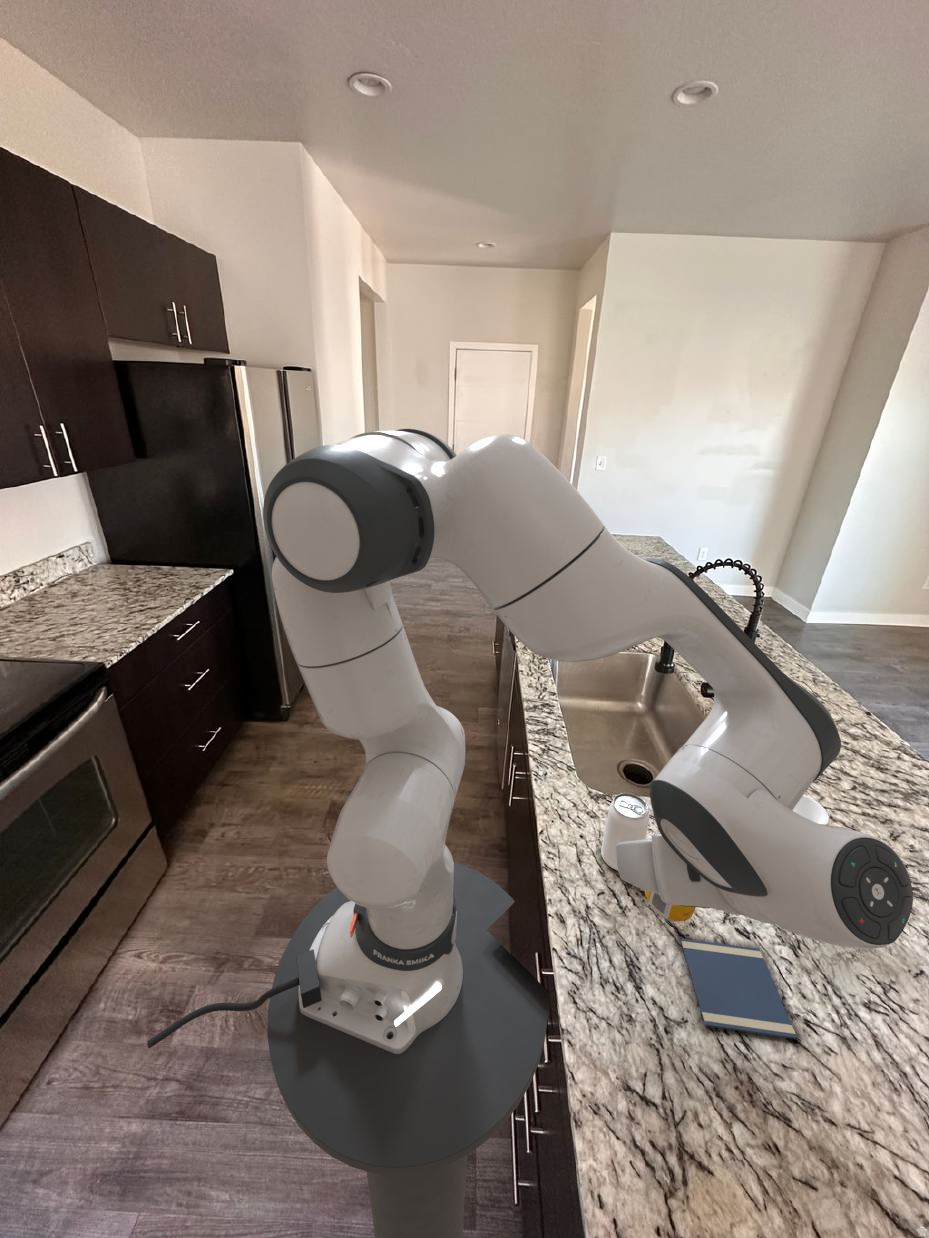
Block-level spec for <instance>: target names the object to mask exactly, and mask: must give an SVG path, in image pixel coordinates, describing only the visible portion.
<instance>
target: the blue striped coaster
mask: <svg viewBox="0 0 929 1238" xmlns="http://www.w3.org/2000/svg"><path fill="white" fill-rule="evenodd" d="M680 943H681V948H682V950H683V951H682V952H683V954H684V958H685V961H686V965H687V968H688V972H689V976H690V980H691V982H692V985H693V989H694V993H695V996H696V1000H697V1003H698V1007H699V1011H700V1013H701V1018H702V1021H703V1025H704V1027H708V1028H714V1029H721V1030H729V1031H735V1032H741V1033H746V1034H747V1033H749V1034H756V1035H761V1036H769V1037H775V1038H782V1039H788V1040H796V1041H797V1040H798V1036H797V1034H796V1032H795V1029H794V1026H793V1025H792V1022H791V1020H790V1017H789V1014H788V1013H787V1010H786V1008H785V1006H784V1004H783V1001H782V999H781V997H780V994H779V992H778V990H777V987H776V985H775V982H774V981H773V978H772V976H771V973H770V971H769V968H768V966H767V963H766V962H765V959H764V956H763V953H762V952H761V950H760V948H758V947H757V948H756V947H750V946H742V945H741V946H740V945H735V944H726V943H719V942H710V941H704V940H696V939H688V938H680Z"/></svg>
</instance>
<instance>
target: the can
mask: <svg viewBox="0 0 929 1238" xmlns="http://www.w3.org/2000/svg"><path fill="white" fill-rule="evenodd" d="M650 819H651V817H650V810H649V806H648V804H647V802H646V801H645V800H644V799H643V798H642V797H640V796H638V795H636V794H633V793H630V792H620V793H618V794H616V795H615V796H614V798H613V799H612V801H611V803H610V804H609V807H608V811H607V816H606V820H605V821H606V822H605V826H604V832H603V837H602V843H601V849H600V854H601V857H602V859H603V862H605V863H606V865H607V866H609V867H610V868H611V869H613V870H615V871H617V872H619V871H618V866H617V858H616V846H617V844H618V843H621V842H626V841H634V840H643V839H646V836H647V832H648V828H649V824H650Z"/></svg>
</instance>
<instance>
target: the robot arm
mask: <svg viewBox="0 0 929 1238" xmlns="http://www.w3.org/2000/svg"><path fill="white" fill-rule="evenodd" d="M262 518H263V519H262V520H263V527H264V531H265V535H266V537H267V542H268V543H269V546H270V547H271V550H272V552H273V553H274V555H275V558H274V560H273V562H272V567H271V581H272V586H273V592H274V597H275V602H276V606H277V609H278V614H279V617H280V621H281V624H282V628H283V631H284V633H285V636H286V640H287V643H288V646H289V648H290V651H291V653H292V656H293V658H294V660H295V664H296V665H297V668H298V670H299V672H300V674H301V677H302V679H303V682H304V684H305V686H306V689H307V691H308V694H309V695H310V698H311V700H312V703H313V706H314V707H315V710H316V712H317V714H318V717H319V720H320V721H321V724H322V725H323V726H324V727H325V728H326V729H327V730H328V731H329V732H330V733H332V734H334V735H337V736H339V737H342V738H346V739H351V740H358V741H359V743H360V744H361V746H362V748H363V750H364V752H365V755H364V756H365V763H364V765H365V766H364V768H363V770H362V773H361V774H360V776H359V778H358V780H357V782H356V783H355V785H354V787H353V789H352V790H351V792H350V794H349V796H348V797H347V800H346V801H345V803H344V804H343V807H342V808H341V810H340V812H339V815H338V817H337V820H336V823H335V827H334V830H333V832H332V837H331V840H330V844H329V848H328V851H327V855H326V866H327V871H328V873H329V876H330V878H331V880H332V881H333V883H334V885H335V887H337V888H338V889H339V890H340V891H341V892H342V893H343V894H344V895H345V896H346V897H347V898H348V899H350V900H351V901H350V902H347V903H345V904H343V905H342V906H341V907H340V908H339V909H338V910H337V911H336V912H335V914H334V915H333V916H332V917H331V918H330V919H329V920H328V921H327V922H326V923H325V924H324V925H323V927H322V928H321V930H320V931H319V933H318V934H317V936H316V938H315V940H314V942H313V944H312V946H311V948H310V950H309V951H307V952H305V953H302V954H300V955H297V956H296V962H297V969H298V978H296V979H293V980H291V981H288V982H286V983H284V984H281V985H279V986H277V987H274V988H272V987H271V988H270V989H269V990H267V991H265V992H264V993H263V994H262V995H261V996H260V997H259V998H258V999H256V1000H254V1001H250V1002H216V1003H211V1004H208V1005H204V1006H202V1007H199V1008H197V1009H195V1010H192V1011H191V1012H189V1013H188V1014H186V1015H184V1016H183V1017H181V1018H179V1019H178V1020H176V1021H174V1022H173V1023H172V1024H171V1025H169V1026H168V1027H167V1028H165V1029H164V1030H162V1031H161V1032H159V1033H157V1034H156V1035H154V1036H153V1037H151V1038H149V1039H148V1040H146V1043H147V1048H148V1049H151V1048H152V1047H154V1046H155V1045H157V1044H158V1043H160V1042H162V1041H163V1040H164V1039H166V1038H168V1037H169V1036H170V1035H172V1034H174V1033H175V1032H177V1030H179V1029H180V1028H182V1027H183V1026H185V1025H186V1024H188V1023H189V1022H191V1021H193V1020H195V1019H197V1018H199V1017H202V1016H205V1015H206V1014H210V1013H213V1012H221V1011H222V1012H223V1011H224V1012H227V1011H228V1012H248V1011H254V1010H256V1009H258V1008H260V1007H261V1006H262V1005H264V1003H265V1002H266V1001H267V1000H270V998H271V997H272V996H274V995H277V994H279V993H281V992H283V991H286V990H288V989H291V988H293V987H295V986H298V985H299V1008H300V1012H301V1013H302V1014H303V1015H305V1016H307V1017H310V1018H312V1019H314V1020H316V1021H319V1022H321V1023H323V1024H326V1025H328V1026H331V1027H333V1028H335V1029H338V1030H340V1031H342V1032H345V1033H347V1034H349V1035H352V1036H354V1037H356V1038H359V1039H361V1040H363V1041H366V1042H368V1043H370V1044H373V1045H375V1046H377V1047H380V1048H382V1049H384V1050H387V1051H389V1052H391V1053H394V1054H401V1053H403V1052H404V1051H405V1050H406V1049H407V1048H408V1047H409V1046H410V1045H411V1044H412V1042H413V1041H414V1040H415V1039H416V1037H417V1036H418V1035H419V1034H420V1033H422V1032H423V1031H425V1030H426V1029H428V1028H430V1027H432V1026H434V1025H435V1024H437V1023H438V1022H439V1021H440V1020H442V1019H443V1018H444V1017H445V1016H446V1015H447V1014H448V1012H449V1011H450V1010H451V1009H452V1007H453V1006H454V1004H455V1002H456V1000H457V998H458V996H459V993H460V990H461V986H462V980H463V966H462V960H461V957H460V954H459V951H458V949H457V947H456V944H455V939H456V928H457V911H456V903H455V897H454V894H453V878H454V859H453V855H452V853H451V851H450V849H449V847H448V846H447V845H446V840H447V835H448V830H449V826H450V821H451V816H452V813H453V810H454V805H455V801H456V797H457V794H458V790H459V787H460V784H461V781H462V777H463V773H464V770H465V767H466V766H465V765H466V733H465V730H464V729H465V728H464V727H463V725H462V723H461V722H460V720H459V718H457V716H455V715H454V714H453V713H452V712H451V711H449V710H448V709H446V708H444V707H441V706H440V705H439V706H438V705H437V704H436V703H435V701H434V699H433V698H432V696H431V695H430V693H429V691H428V690H427V688H426V685H425V684H424V681H423V678H422V676H421V673H420V671H419V667H418V665H417V662H416V659H415V656H414V653H413V650H412V647H411V644H410V642H409V639H408V635H407V632H406V629H405V627H404V624H403V620H402V618H401V614H400V612H399V609H398V607H397V604H396V601H395V598H394V594H393V591H392V590H393V589H392V584H391V583H392V580H395V579H398V578H401V577H404V576H407V575H411V574H415V573H417V572H420V571H422V570H423V569H424V568H426V566H427V565H428V562H429V560H430V559H440V560H444V561H447V562H449V563H451V564H452V565H454V566H455V567H456V568H458V569H459V570H460V571H461V572H462V573H464V575H465V576H466V577H467V578H468V579H469V581H470V582H472V584H473V585H474V586H475V588H476V589H477V590H478V592H479V593H480V594H481V596H482V597H483V598H484V600H485V601H486V603H487V604H488V605H489V606H490V607H491V609H492V610H493V612H494V613H495V614H496V616H497V617H498V618H499V619H500V621H501V622H502V623H503V625H504V626H505V627H506V628H507V629H508V630H509V631H510V633H511V634H512V635H513V636H514V637H515V638H516V639H517V641H519V642H520V643H521V644H522V645H524V647H525V648H526V649H528V650H529V651H530V652H531V653H533V654H535V655H537V656H540V657H542V658H545V659H548V660H551V661H556V662H561V663H581V662H582V663H583V662H589V661H594V660H600V659H603V658H608V657H611V656H614V655H617V654H619V653H622V652H625V651H627V650H629V649H632V648H633V647H636V646H638V645H641V644H642V643H645V642H649V641H650V640H653V639H656V638H658V639H660V640H662V641H664V642H666V643H667V645H669V646H670V647H671V648H672V649H673V650H674V651H675V652H676V653H677V654H678V655H679V656H680V657H681V658H682V659H683V660H684V661H685V662H686V663H687V664H688V665H689V666H690V667H691V668H692V669H693V670H694V671H695V672H696V673H697V674H698V675H699V676H700V677H701V678H702V679H703V680H704V681H705V682H706V683H707V684H708V685H709V686H710V687H711V688H712V691H713V696H714V697H713V703H712V707H711V709H710V712H709V713H708V715H707V716H706V717H705V719H704V720H703V721H702V722H701V724H699V726H698V727H697V728H696V729H695V731H694V732H693V733H692V734H691V735H690V737H689V738H688V739H687V740H686V741H685V742H684V743H683V745H682V746H681V747H679V748H678V749H677V751H676V752H675V753H674V754H673V756H672V757H671V758H670V759H669V760H668V761H667V763H666V764H665V765H664V766H663V768H661V770H660V771H659V772H658V774H657V775H656V777H654V779H653V780H652V781H651V782H650V784H649V801H650V806H651V810H652V814H653V817H654V820H655V823H656V826H657V829H658V831H659V832H654V833H653V834H652V835H651V838H645V839H643V840H634V841H626V842H621V843H618V844H617V846H616V858H617V866H618V871H617V872H618V874H619V877H620V878H621V880H622V881H624V882H626V883H628V884H629V885H632V886H634V887H636V888H638V889H640V890H643V891H649V892H653V893H657V894H660V898H661V900H662V901H663V902H664V903H667V904H670V905H678V906H686V907H696V908H698V909H699V908H702V909H713V910H716V911H717V910H718V911H722V912H725V913H728V914H731V915H733V916H743V917H746V918H749V919H752V920H754V921H757V922H760V923H763V924H769V925H776V926H778V927H779V928H781V929H783V930H785V931H787V932H789V933H792V934H795V935H798V936H801V937H804V938H807V939H811V940H814V941H817V942H820V943H825V944H829V945H832V946H837V947H842V948H848V949H856V950H874V949H881V948H884V947H887V946H889V945H891V944H893V943H894V942H896V941H897V940H898V939H899V937H900V936H901V934H902V933H903V931H904V929H905V928H906V925H907V924H908V921H909V920H910V917H911V914H912V909H913V905H914V894H913V885H912V881H911V877H910V875H909V872H908V870H907V868H906V865H905V863H904V862H903V860H902V858H901V857H900V856H899V855H898V853H897V852H896V850H894V849H893V848H892V847H891V846H890V845H889V844H887V843H886V842H885V841H883V840H882V839H880V838H878V837H876V836H873V835H871V834H868V833H866V832H862V831H858V830H854V829H851V828H846V827H841V826H837V825H831V824H829V825H825V824H818V823H815V822H813V821H811V820H809V819H807V818H805V817H803V816H801V815H799V814H797V813H795V812H793V811H792V810H793V809H794V808H795V806H796V805H797V803H798V802H799V800H800V799H801V798H802V796H803V795H805V794H806V792H807V791H808V790H809V788H810V786H811V785H812V784H813V783H814V782H815V781H816V780H818V779H819V777H821V775H822V774H823V773H824V772H825V771H826V770H827V768H828V767H829V766H831V764H832V763H833V762H834V761H835V760H836V759H837V757H838V756H839V754H840V752H841V750H842V740H841V736H840V733H839V730H838V728H837V725H836V723H835V721H834V719H833V716H832V715H831V712H829V710H828V709H827V708H826V706H825V705H824V704H823V703H822V702H821V701H820V700H819V699H818V698H817V697H816V696H815V695H813V694H812V693H811V692H810V691H808V690H807V689H806V688H805V687H803V686H802V685H801V684H799V683H798V682H796V681H795V680H793V679H792V678H791V677H789V676H788V675H787V674H786V673H784V672H783V671H782V670H781V669H780V668H779V667H778V666H777V665H776V664H775V663H774V662H773V661H772V660H771V659H770V658H769V656H768V655H767V654H766V653H765V652H764V651H763V650H762V649H761V648H760V647H759V646H758V645H757V644H756V643H755V641H754V640H752V638H751V637H749V635H748V634H746V632H745V631H744V630H743V629H742V628H741V627H740V626H739V625H738V624H737V623H736V622H735V621H734V620H733V619H732V618H731V617H730V615H729V614H727V612H726V611H725V610H724V609H723V608H722V607H721V606H720V605H719V604H718V603H717V602H716V601H715V600H714V599H713V598H712V597H711V596H710V595H709V594H708V592H707V591H705V590H704V589H703V588H702V587H701V586H700V585H699V584H698V583H697V582H696V581H694V579H692V578H691V577H690V576H689V575H687V574H686V573H685V572H684V571H683V570H681V569H680V568H678V567H677V566H676V565H674V564H672V563H670V562H669V561H666V560H663V559H660V558H654V557H653V558H650V557H649V558H644V559H643V558H641V557H639V556H638V555H636V554H635V553H633V552H631V551H630V550H629V549H627V548H626V547H625V546H624V545H622V544H621V543H620V542H619V541H618V540H617V539H616V538H615V536H614V535H612V533H611V532H610V531H609V529H608V528H607V527H606V525H604V522H603V521H602V520H601V518H600V517H599V516H598V515H597V513H596V512H595V510H594V509H593V508H592V507H591V505H590V504H589V503H588V502H587V500H586V499H585V498H584V497H583V495H582V494H581V493H580V492H579V490H578V489H576V487H575V486H574V485H573V484H572V483H571V482H570V481H569V480H568V479H567V478H566V476H565V475H564V474H563V473H562V472H561V471H560V470H559V469H558V468H557V467H556V466H555V465H554V464H553V463H552V461H550V460H549V459H548V458H547V457H546V456H545V455H544V454H543V453H542V452H540V451H539V449H538V448H536V447H535V446H534V445H533V444H532V443H531V442H529V441H528V440H527V439H524V438H523V437H521V436H518V435H514V434H498V435H491V436H488V437H485V438H483V439H480V440H478V441H476V442H474V443H472V444H470V445H468V446H467V447H466V448H464V449H463V450H461V451H460V452H459V453H458V454H457V453H456V452H455V451H454V449H452V447H450V446H449V445H448V444H447V442H446V441H444V440H443V439H441V438H440V437H438V436H436V435H434V434H432V433H429V432H427V431H424V430H420V429H415V428H400V429H399V428H398V429H395V430H375V431H368V432H362V433H359V434H356V435H354V436H352V437H350V438H348V439H345V440H343V441H339V442H337V443H334V444H325V445H320V446H316V447H313V448H311V449H309V450H307V451H304V452H303V453H301V454H299V455H297V456H296V457H295V458H293V459H291V460H290V461H289V462H288V463H286V464H285V465H284V466H283V467H282V468H280V470H278V472H277V473H276V474H275V475H274V476H273V478H272V480H271V481H270V482H269V484H268V486H267V489H266V492H265V495H264V499H263V506H262ZM335 1015H336V1016H335ZM388 1035H393V1038H392V1039H387V1036H388Z"/></svg>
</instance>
